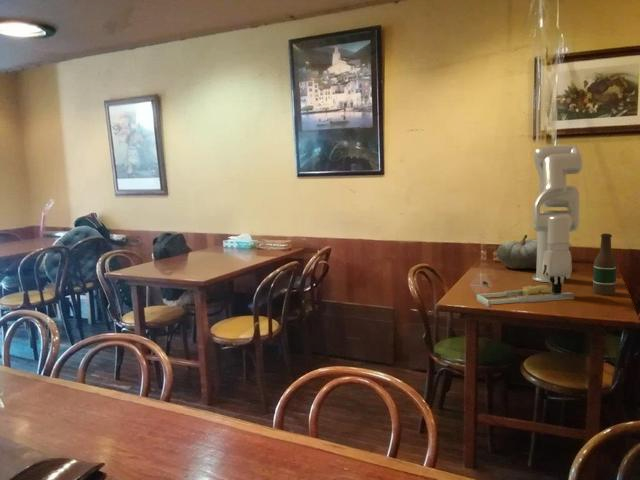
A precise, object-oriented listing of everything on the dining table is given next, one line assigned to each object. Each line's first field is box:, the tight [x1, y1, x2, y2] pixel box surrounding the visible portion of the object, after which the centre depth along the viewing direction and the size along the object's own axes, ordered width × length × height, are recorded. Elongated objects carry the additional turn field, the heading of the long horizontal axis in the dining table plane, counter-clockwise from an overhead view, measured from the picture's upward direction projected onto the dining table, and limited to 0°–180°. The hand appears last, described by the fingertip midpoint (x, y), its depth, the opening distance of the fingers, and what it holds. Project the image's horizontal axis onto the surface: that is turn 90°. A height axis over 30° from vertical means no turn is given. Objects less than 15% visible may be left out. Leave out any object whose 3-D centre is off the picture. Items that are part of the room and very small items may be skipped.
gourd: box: [496, 234, 537, 270], centre depth 249 cm, size 25×25×17 cm
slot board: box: [504, 286, 575, 304], centre depth 189 cm, size 22×12×3 cm, turn 98°
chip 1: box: [522, 285, 538, 296], centre depth 188 cm, size 4×4×4 cm
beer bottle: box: [592, 233, 617, 296], centre depth 192 cm, size 8×8×24 cm
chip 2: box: [535, 284, 552, 295], centre depth 189 cm, size 4×4×4 cm
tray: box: [475, 291, 520, 308], centre depth 186 cm, size 12×10×2 cm
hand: (556, 293), depth 190 cm, fingers closed
